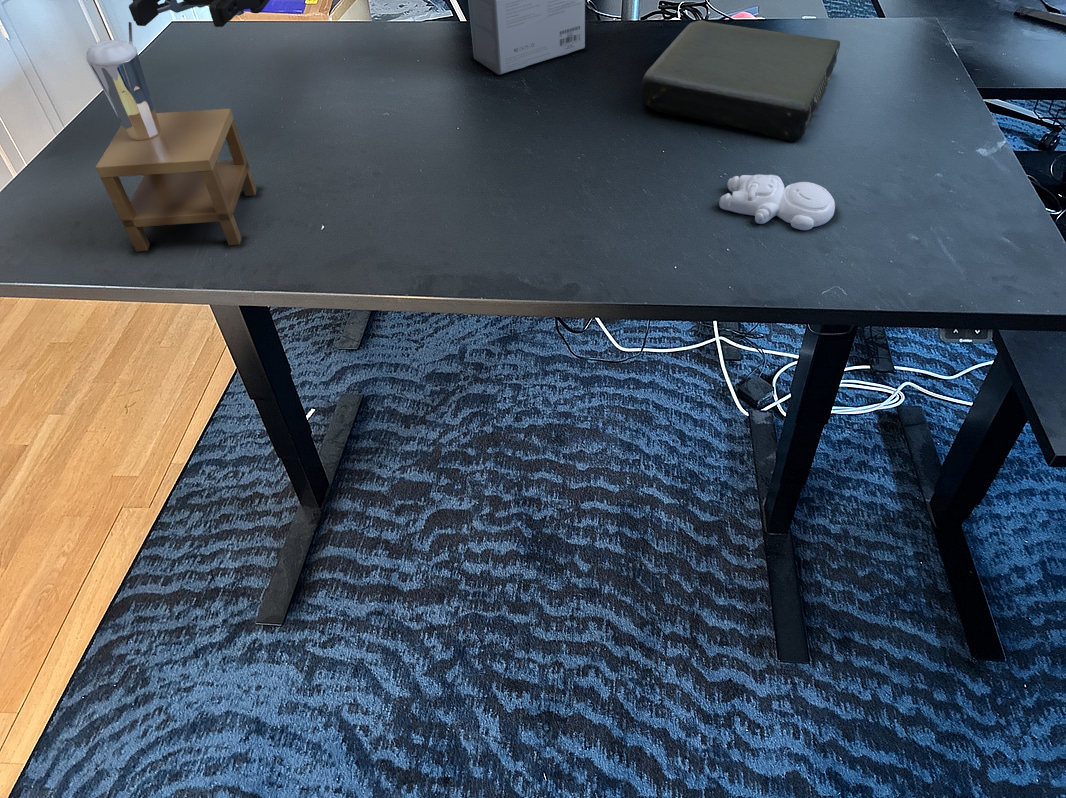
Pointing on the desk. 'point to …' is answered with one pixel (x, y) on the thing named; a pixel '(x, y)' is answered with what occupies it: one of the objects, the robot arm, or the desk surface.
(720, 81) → the network switch
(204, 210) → the wooden side table
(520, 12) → the hard drive box
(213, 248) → the desk surface
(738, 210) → the astronaut figurine
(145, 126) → the milkshake
